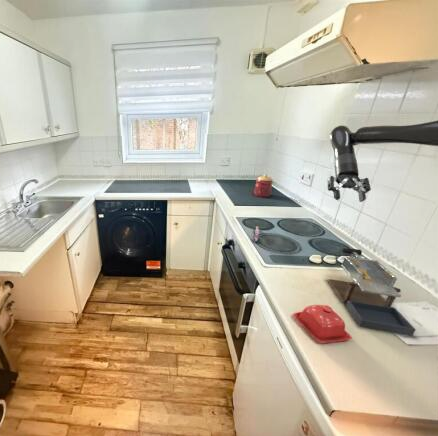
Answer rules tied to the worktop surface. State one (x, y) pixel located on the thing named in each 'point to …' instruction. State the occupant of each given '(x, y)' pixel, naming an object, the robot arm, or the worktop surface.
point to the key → (365, 274)
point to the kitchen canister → (263, 186)
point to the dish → (369, 274)
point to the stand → (359, 293)
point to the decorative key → (256, 233)
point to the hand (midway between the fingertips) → (350, 200)
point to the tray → (379, 317)
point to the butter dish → (322, 323)
